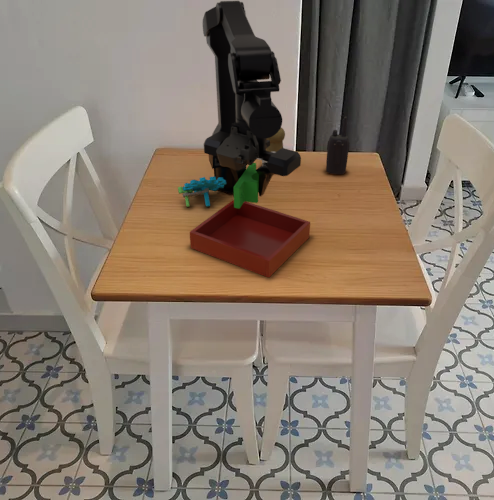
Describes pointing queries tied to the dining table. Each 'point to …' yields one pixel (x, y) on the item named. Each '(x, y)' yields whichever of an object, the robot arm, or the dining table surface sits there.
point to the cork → (276, 141)
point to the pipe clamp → (247, 187)
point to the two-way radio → (337, 151)
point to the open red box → (250, 237)
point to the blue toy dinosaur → (201, 188)
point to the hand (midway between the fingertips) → (251, 192)
